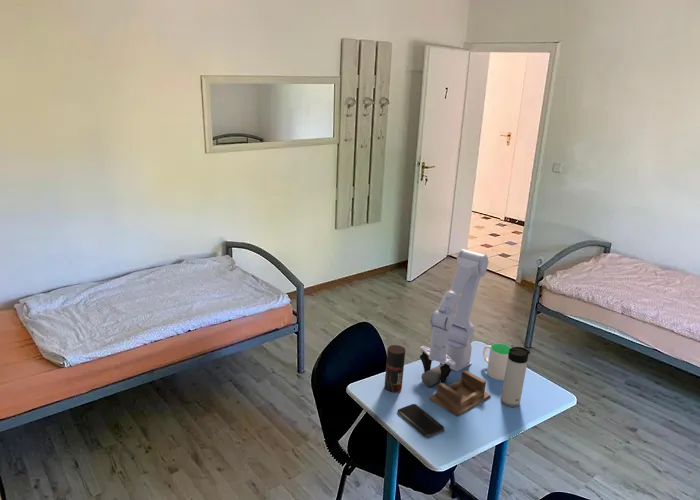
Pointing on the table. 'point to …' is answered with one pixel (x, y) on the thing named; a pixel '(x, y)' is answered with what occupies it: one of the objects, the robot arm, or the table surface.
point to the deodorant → (394, 368)
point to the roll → (432, 376)
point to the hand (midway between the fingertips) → (435, 377)
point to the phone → (420, 420)
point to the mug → (497, 360)
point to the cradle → (461, 394)
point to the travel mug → (514, 376)
